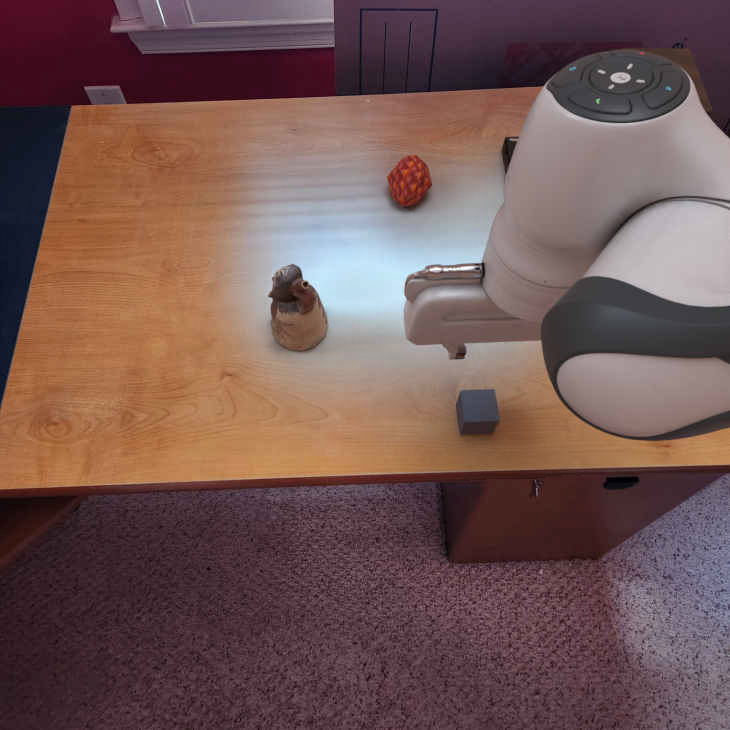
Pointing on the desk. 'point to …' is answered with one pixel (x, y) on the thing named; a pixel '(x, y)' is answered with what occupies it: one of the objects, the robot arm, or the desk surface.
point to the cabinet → (687, 64)
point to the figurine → (296, 310)
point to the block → (477, 412)
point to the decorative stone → (409, 180)
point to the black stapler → (508, 150)
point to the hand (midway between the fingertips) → (503, 351)
